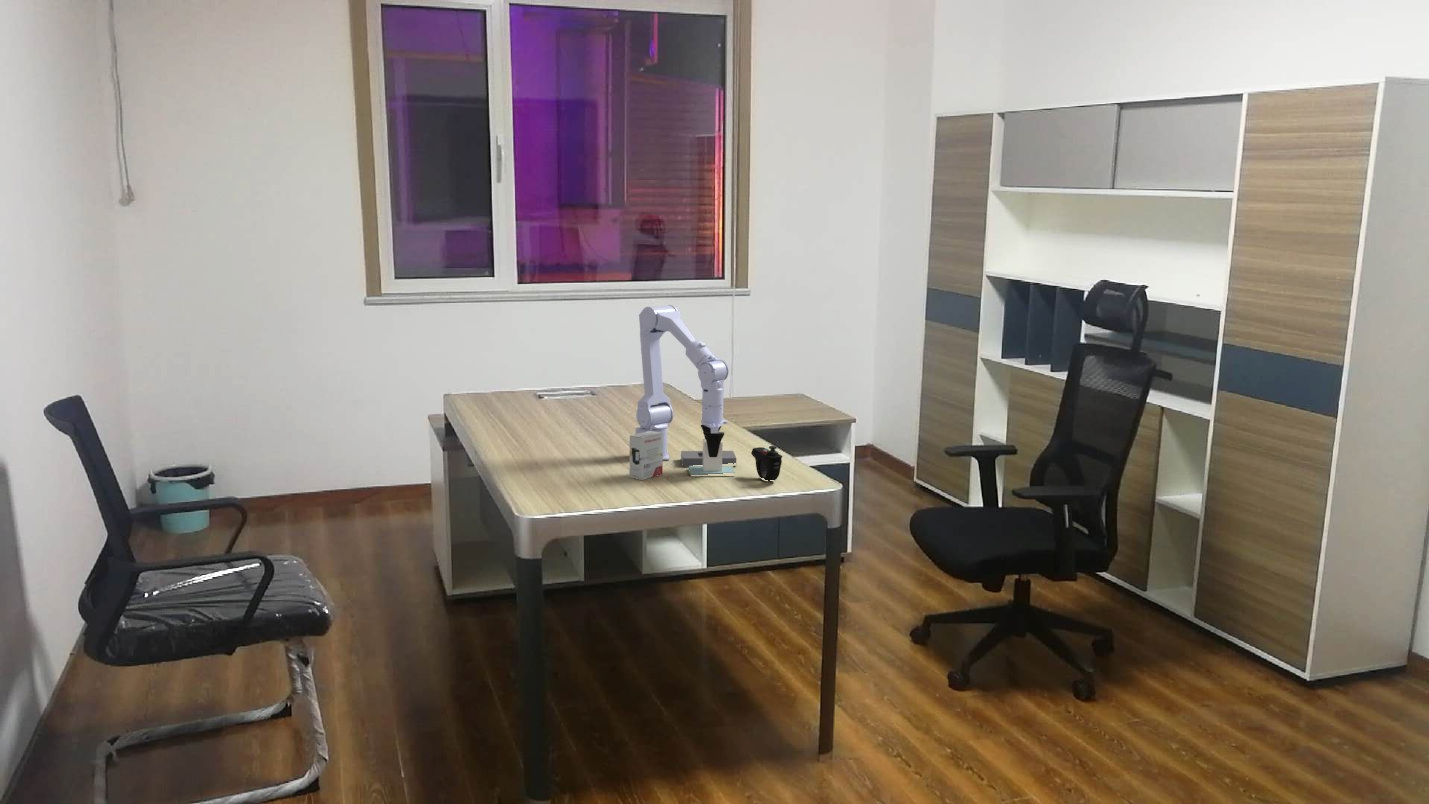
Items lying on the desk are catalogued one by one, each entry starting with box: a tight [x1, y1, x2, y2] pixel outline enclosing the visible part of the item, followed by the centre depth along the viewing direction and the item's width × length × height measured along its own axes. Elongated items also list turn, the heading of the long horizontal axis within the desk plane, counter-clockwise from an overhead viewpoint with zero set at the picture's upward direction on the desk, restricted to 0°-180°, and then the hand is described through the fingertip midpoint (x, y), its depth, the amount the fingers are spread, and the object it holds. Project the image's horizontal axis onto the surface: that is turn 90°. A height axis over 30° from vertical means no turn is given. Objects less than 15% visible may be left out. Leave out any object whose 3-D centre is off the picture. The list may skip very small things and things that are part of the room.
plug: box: [702, 438, 724, 471], centre depth 300 cm, size 5×4×8 cm
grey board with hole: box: [680, 450, 737, 467], centre depth 311 cm, size 15×9×2 cm, turn 95°
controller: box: [750, 445, 783, 482], centre depth 293 cm, size 4×12×10 cm, turn 24°
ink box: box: [629, 431, 664, 481], centre depth 295 cm, size 9×5×12 cm, turn 141°
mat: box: [688, 466, 736, 475], centre depth 300 cm, size 12×8×1 cm, turn 95°
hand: (711, 453), depth 300 cm, fingers open, 7 cm apart
